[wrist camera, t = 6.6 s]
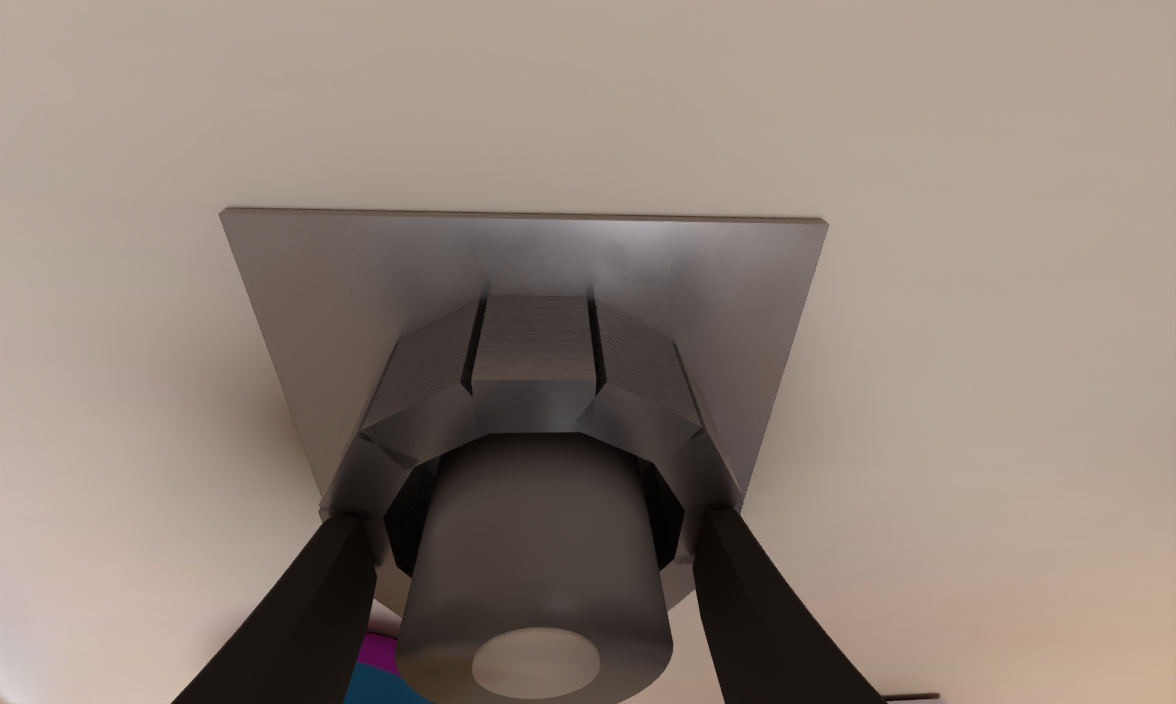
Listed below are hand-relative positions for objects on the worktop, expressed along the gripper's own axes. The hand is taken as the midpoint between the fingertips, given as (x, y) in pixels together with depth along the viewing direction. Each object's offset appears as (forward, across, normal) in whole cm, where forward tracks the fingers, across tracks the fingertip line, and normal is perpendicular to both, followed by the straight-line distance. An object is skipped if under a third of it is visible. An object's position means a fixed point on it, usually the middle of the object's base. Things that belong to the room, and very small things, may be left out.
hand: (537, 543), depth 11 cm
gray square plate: (+3, 0, 0) cm, 3 cm away
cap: (+3, 0, 0) cm, 3 cm away
